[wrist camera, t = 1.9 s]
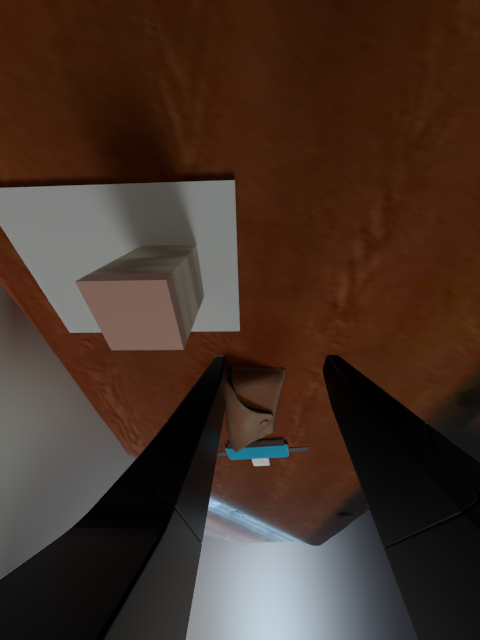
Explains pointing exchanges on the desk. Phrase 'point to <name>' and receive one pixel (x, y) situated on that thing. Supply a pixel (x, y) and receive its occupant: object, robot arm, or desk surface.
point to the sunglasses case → (251, 403)
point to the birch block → (146, 297)
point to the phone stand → (261, 451)
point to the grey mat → (124, 239)
